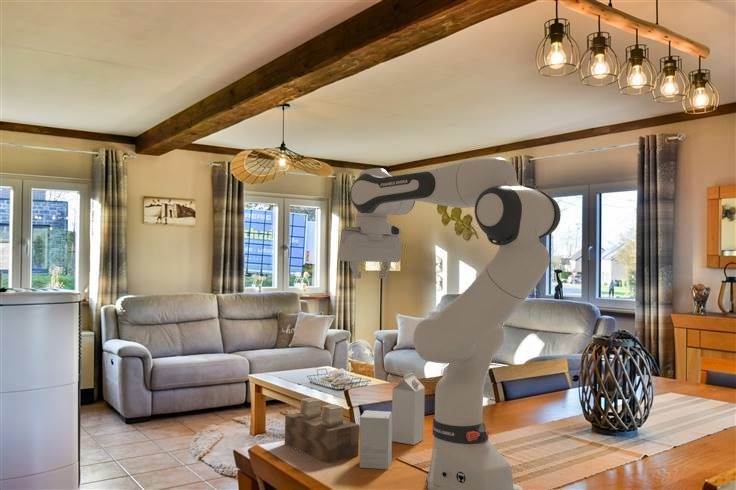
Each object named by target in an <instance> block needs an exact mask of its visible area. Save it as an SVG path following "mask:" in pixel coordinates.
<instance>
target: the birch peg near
mask: <svg viewBox="0 0 736 490" xmlns="http://www.w3.org/2000/svg"><path fill="white" fill-rule="evenodd" d="M321 412H322V424H324V425H327V426H330V427H333V426H338V425H343V420H344V406H342V405H338V404H335V403H333V404H327V405H321Z"/></svg>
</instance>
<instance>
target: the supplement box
mask: <svg viewBox="0 0 736 490" xmlns="http://www.w3.org/2000/svg"><path fill="white" fill-rule="evenodd" d="M392 443H393V441H392V411H386V410H384V411H383V410H382V411H381V410H369V409H367V410H364V411H363V412H362V414H361V415H360V416H359V468H365V469H378V470H389V467H390V465H391V463H392V459H393V457H392V454H393V453H392V447H393V445H392Z"/></svg>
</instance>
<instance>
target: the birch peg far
mask: <svg viewBox="0 0 736 490" xmlns="http://www.w3.org/2000/svg"><path fill="white" fill-rule="evenodd" d="M300 412H301V413H300ZM300 412H299V413H300V416H302V417H304V418H307V419H311V418H317V417H321V412H322V400H321V399H319V398H315V397H307V398H306V397H305V398H300Z"/></svg>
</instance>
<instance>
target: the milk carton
mask: <svg viewBox="0 0 736 490" xmlns="http://www.w3.org/2000/svg"><path fill="white" fill-rule="evenodd" d="M425 388H426V387H425V386H424V385H423V384H422V383H421V382H420V380H419V379H417V377H416V376H415V372H410V373H408V374H405V375H403V380H401V381H400V382H398V383H397V384H396V385H395V386H394V387H393V388H392V394H391V395H392V396H391V399H392V400H391V404H392V405H391V412H392V442H394V443H402V444H406V445H407V444H408V445H411V446H415V445H417V444H418V443H420V442H421V441H423V440H424V439H425V437H424V436H425V392H426V391H425Z"/></svg>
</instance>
